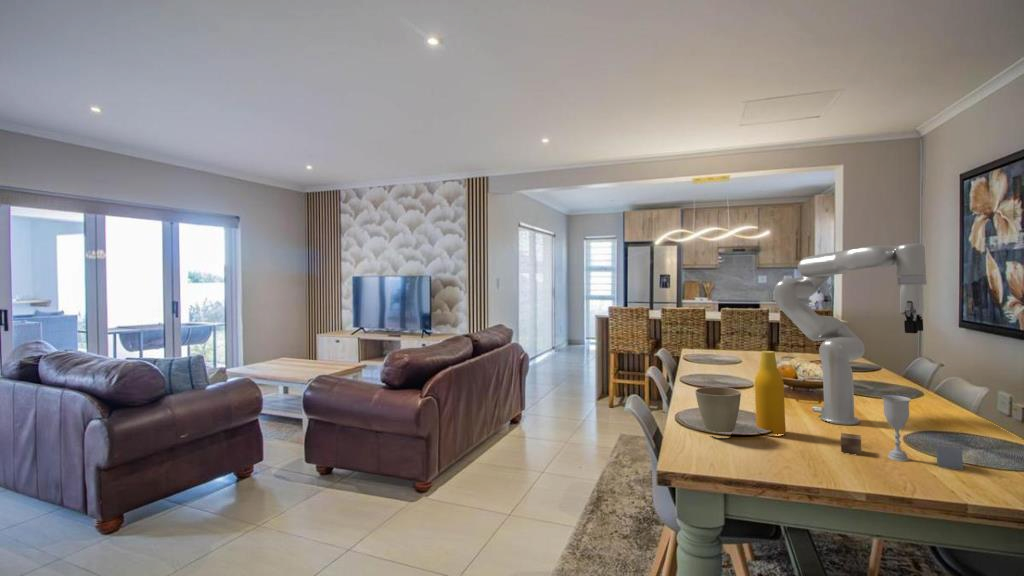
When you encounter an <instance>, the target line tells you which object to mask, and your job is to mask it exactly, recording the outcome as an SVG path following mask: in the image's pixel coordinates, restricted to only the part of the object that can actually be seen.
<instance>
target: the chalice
mask: <svg viewBox="0 0 1024 576" xmlns="http://www.w3.org/2000/svg"><path fill="white" fill-rule="evenodd" d="M881 399H882V400H883V415H884V417H885V419H886V421H887V422H888V425H889V426H890V427H891V428H892V429H894V435H893V436H894V438H895V439H894V441H893V443H894V444H895V447H894V448H891V450H890V451H889V453H888V455H887V459H890V460H893V461H897V462H908V461H910V458H909V457H908V455H907V453H906V451H904V450H902V449H901V447H900V445H901V443H902V441H901V440H900V437H902V436H901V434H900V430H903V429H904V427H905V425H906V424H907V423H908V421H909V418H910V405H909V404H910V402H911V400H912V399H911V398H910V397H906V396H900V395H894V394H893V395H890V394H889V395H888V394H887V395H881Z"/></svg>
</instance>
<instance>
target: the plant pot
mask: <svg viewBox="0 0 1024 576" xmlns="http://www.w3.org/2000/svg"><path fill="white" fill-rule="evenodd" d="M694 392H695V397H696V401H697V406H698V409H699V413H700V416H701V420H702V422H703V425H704V428H705V430H706V429H708V430H711V431H715V432H732V431H733V432H734V429H736V428H735V427H736V423H737V420H738V416H739V411H740V403H741V397H742V391H740V390H739V389H735V388H732V387H731V388H730V387H724V386H723V387H722V386H721V387H720V386H708V387H707V386H706V387H699V388H696V389H695V391H694Z"/></svg>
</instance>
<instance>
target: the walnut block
mask: <svg viewBox="0 0 1024 576" xmlns="http://www.w3.org/2000/svg"><path fill="white" fill-rule="evenodd" d="M840 449H841V450H840V452H843V453H842V454H846V453H849V454H848V455H853V454H856V455H855V456H860V455H861V456H862V437H861V434H854V433H845V432H841V433H840Z"/></svg>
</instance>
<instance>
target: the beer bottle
mask: <svg viewBox="0 0 1024 576" xmlns="http://www.w3.org/2000/svg"><path fill="white" fill-rule="evenodd" d="M754 379H755V380H754V394H755V395H754V399H755V400H754V401H755V427H756V426H757V427H759V428H762V429H765V430H770V431H773V433H772V434H777V435H778V434H784V433H785V434H786V430H787V429H786V410H785V385H784V380H783V377H782V375H781V373H780V372H779V369H778V366H777V360H776V353H775V351H771V350H762V351H761V353H760V365H759V369H758V372H757V373H756V375H755V378H754Z"/></svg>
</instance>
